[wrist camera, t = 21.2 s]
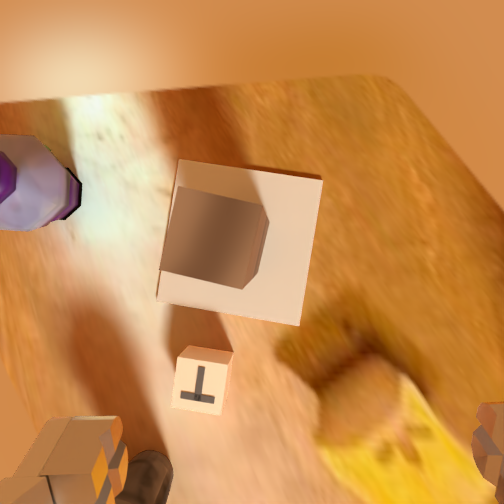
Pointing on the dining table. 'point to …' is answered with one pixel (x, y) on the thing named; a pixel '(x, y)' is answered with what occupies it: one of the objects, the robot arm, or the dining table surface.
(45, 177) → the potion bottle
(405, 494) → the dining table surface
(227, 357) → the letter cube
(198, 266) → the walnut block
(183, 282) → the white square plate
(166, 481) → the beverage cup
